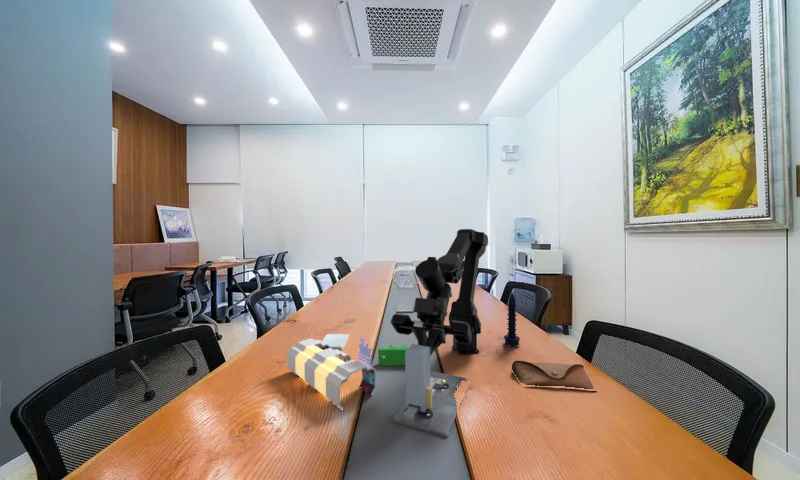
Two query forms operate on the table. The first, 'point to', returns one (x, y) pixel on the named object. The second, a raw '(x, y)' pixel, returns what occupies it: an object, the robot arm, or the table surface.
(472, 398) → the table surface
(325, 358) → the diorama
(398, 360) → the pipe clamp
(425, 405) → the gray rectangular block
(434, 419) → the flange plate
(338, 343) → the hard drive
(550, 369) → the sunglasses case
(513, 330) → the screw
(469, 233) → the robot arm
